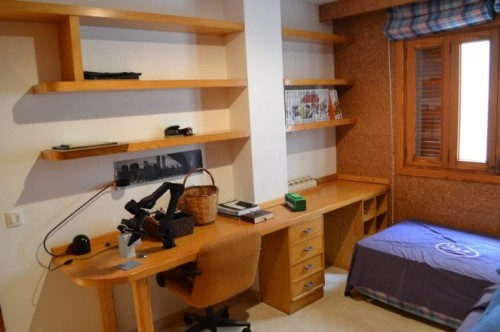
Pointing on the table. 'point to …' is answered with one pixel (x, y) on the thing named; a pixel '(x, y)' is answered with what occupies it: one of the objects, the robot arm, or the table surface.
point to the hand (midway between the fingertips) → (124, 245)
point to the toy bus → (295, 201)
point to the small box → (137, 241)
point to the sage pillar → (125, 246)
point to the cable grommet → (142, 255)
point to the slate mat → (128, 265)
